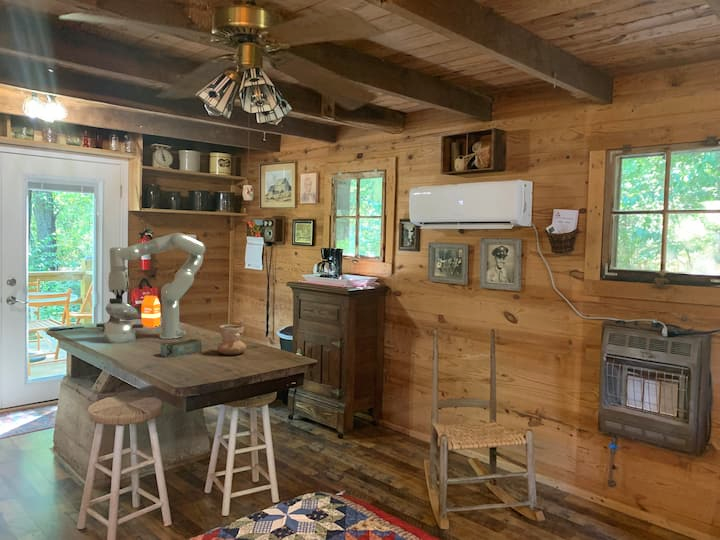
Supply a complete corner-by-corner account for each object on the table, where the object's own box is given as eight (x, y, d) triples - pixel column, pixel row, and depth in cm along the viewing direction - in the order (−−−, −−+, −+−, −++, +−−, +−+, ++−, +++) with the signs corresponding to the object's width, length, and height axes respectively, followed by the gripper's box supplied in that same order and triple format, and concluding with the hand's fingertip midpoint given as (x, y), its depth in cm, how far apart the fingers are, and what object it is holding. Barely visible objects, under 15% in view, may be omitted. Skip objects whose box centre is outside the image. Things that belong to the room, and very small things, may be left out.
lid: (141, 320, 319) (142, 315, 321) (129, 301, 304) (131, 295, 306) (112, 319, 320) (114, 314, 322) (99, 300, 304) (101, 295, 307)
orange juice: (153, 327, 355) (153, 296, 353) (141, 326, 357) (141, 296, 356) (160, 325, 362) (160, 295, 361) (148, 324, 364) (148, 294, 363)
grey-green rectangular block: (159, 355, 278) (159, 342, 278) (195, 350, 291) (195, 337, 291) (166, 358, 272) (166, 344, 272) (202, 352, 285) (202, 340, 285)
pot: (149, 338, 320) (148, 321, 320) (136, 343, 303) (136, 325, 303) (105, 337, 321) (105, 320, 320) (90, 343, 304) (90, 325, 303)
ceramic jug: (251, 354, 281) (252, 327, 280) (224, 358, 272) (224, 329, 272) (237, 349, 295) (237, 322, 295) (211, 352, 287) (211, 324, 286)
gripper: (134, 268, 311) (135, 301, 312) (108, 269, 312) (109, 301, 313) (127, 270, 303) (129, 303, 305) (101, 270, 304) (102, 303, 306)
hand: (119, 302), depth 309 cm, fingers closed
